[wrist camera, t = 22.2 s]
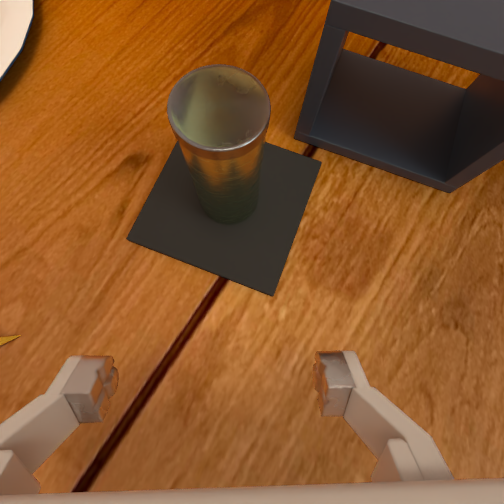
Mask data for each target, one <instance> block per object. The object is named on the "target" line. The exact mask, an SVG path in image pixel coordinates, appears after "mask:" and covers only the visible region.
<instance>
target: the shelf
mask: <svg viewBox="0 0 504 504" xmlns="http://www.w3.org/2000/svg"><path fill="white" fill-rule="evenodd" d="M349 31H350V32H353V33H356V34H359V35H362V36H365V37H368V38H371V39H374V40H377V41H381V42H384V43H387V44H390V45H393V46H396V47H399V48H402V49H405V50H408V51H411V52H415V53H418V54H421V55H424V56H427V57H430V58H433V59H436V60H439V61H442V62H445V63H448V64H452V65H455V66H458V67H461V68H464V69H467V70H470V71H473V72H476V73H479V74H480V75H479V76H478V77H477V78H476V80H475V81H474V82H473V83H472V84H471V85H470V86H469V87H468V88H467V89H463V88H460V87H457V86H454V85H451V84H448V83H445V82H442V81H439V80H436V79H433V78H430V77H427V76H424V75H421V74H418V73H415V72H412V71H409V70H405V69H402V68H399V67H396V66H393V65H390V64H387V63H384V62H381V61H378V60H375V59H372V58H369V57H366V56H363V55H360V54H357V53H354V52H351V51H348V50H345V49H343V46H344V44H345V41H346V38H347V35H348V33H349ZM294 139H297V140H300V141H303V142H306V143H308V144H311V145H314V146H317V147H320V148H323V149H325V150H328V151H331V152H334V153H337V154H340V155H342V156H345V157H348V158H351V159H354V160H357V161H360V162H362V163H365V164H368V165H371V166H374V167H377V168H379V169H382V170H385V171H388V172H391V173H394V174H396V175H399V176H402V177H405V178H408V179H411V180H414V181H416V182H419V183H422V184H425V185H428V186H431V187H433V188H436V189H439V190H442V191H445V192H448V193H451V192H453V191H454V190H456V189H457V188H459V187H461V186H462V185H464V184H465V183H467V182H469V181H470V180H472V179H473V178H475V177H476V176H478V175H480V174H481V173H483V172H484V171H486V170H488V169H489V168H491V167H492V166H494V165H495V164H497V163H499V162H500V161H502V160H503V159H504V0H331V3H330V6H329V10H328V14H327V17H326V21H325V25H324V28H323V32H322V36H321V39H320V43H319V47H318V50H317V54H316V58H315V61H314V65H313V69H312V72H311V76H310V80H309V83H308V87H307V91H306V94H305V98H304V102H303V105H302V109H301V113H300V116H299V120H298V124H297V127H296V131H295V135H294Z"/></svg>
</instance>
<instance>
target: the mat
mask: <svg viewBox="0 0 504 504" xmlns="http://www.w3.org/2000/svg"><path fill="white" fill-rule="evenodd" d="M321 163H322V162H320V161H317V160H314V159H312V158H309V157H306V156H303V155H300V154H298V153H295V152H292V151H289V150H286V149H284V148H281V147H278V146H275V145H272V144H269V143H267V142H265V144H264V153H263V161H262V169H261V178H260V186H259V194H258V202H257V206H256V209H255V211H254V212H253V214H252V215H251V216H250V217H249V218H248V219H246V220H245V221H243V222H241V223H238V224H233V225H224V224H220V223H217V222H215V221H213V220H212V219H210V218H209V217H208V216H207V215H206V214H205V212H204V211H203V209H202V206H201V203H200V201H199V198H198V195H197V192H196V189H195V186H194V184H193V181H192V178H191V175H190V172H189V169H188V166H187V164H186V161H185V158H184V155H183V152H182V149H181V147H180V144H179V141H177V143H176V145H175V147H174V149H173V150H172V152H171V154H170V156H169V158H168V160H167V162H166V164H165V166H164V168H163V170H162V171H161V173H160V175H159V177H158V179H157V181H156V183H155V185H154V187H153V189H152V191H151V193H150V194H149V196H148V198H147V200H146V202H145V204H144V206H143V208H142V210H141V212H140V214H139V216H138V217H137V219H136V221H135V223H134V225H133V227H132V229H131V231H130V233H129V235H128V237H127V240H129V241H131V242H134V243H136V244H139V245H142V246H144V247H147V248H149V249H152V250H154V251H157V252H160V253H162V254H165V255H167V256H170V257H172V258H175V259H178V260H180V261H183V262H185V263H188V264H190V265H193V266H196V267H198V268H201V269H203V270H206V271H208V272H211V273H214V274H216V275H219V276H221V277H224V278H226V279H229V280H231V281H234V282H237V283H239V284H242V285H244V286H247V287H249V288H252V289H255V290H257V291H260V292H262V293H265V294H267V295H270V296H273V295H274V293H275V290H276V287H277V284H278V282H279V279H280V276H281V273H282V271H283V268H284V265H285V262H286V260H287V257H288V254H289V251H290V249H291V246H292V243H293V240H294V238H295V235H296V232H297V229H298V227H299V224H300V221H301V218H302V216H303V213H304V210H305V207H306V205H307V202H308V199H309V196H310V194H311V191H312V188H313V185H314V183H315V180H316V177H317V174H318V172H319V169H320V166H321Z"/></svg>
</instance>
